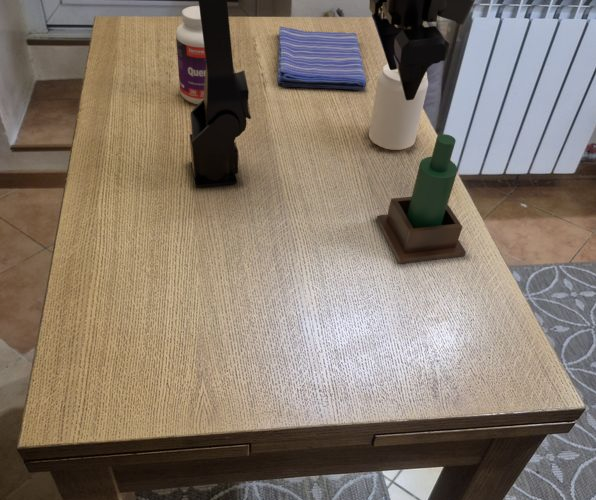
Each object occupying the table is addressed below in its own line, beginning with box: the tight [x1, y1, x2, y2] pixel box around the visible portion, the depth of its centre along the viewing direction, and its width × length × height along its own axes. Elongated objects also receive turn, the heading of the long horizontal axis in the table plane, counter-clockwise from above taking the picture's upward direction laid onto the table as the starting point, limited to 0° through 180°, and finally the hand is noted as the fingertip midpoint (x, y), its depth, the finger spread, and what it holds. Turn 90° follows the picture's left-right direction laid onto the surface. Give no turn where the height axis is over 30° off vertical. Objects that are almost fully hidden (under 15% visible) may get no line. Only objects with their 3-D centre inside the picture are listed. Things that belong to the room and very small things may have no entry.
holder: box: [375, 196, 467, 265], centre depth 88 cm, size 10×10×4 cm
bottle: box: [407, 133, 458, 229], centre depth 83 cm, size 5×5×15 cm
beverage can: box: [368, 63, 429, 151], centre depth 102 cm, size 8×8×12 cm
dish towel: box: [277, 26, 367, 91], centre depth 123 cm, size 17×24×3 cm
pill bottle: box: [175, 5, 206, 105], centre depth 107 cm, size 8×8×14 cm
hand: (401, 84), depth 90 cm, fingers open, 9 cm apart
